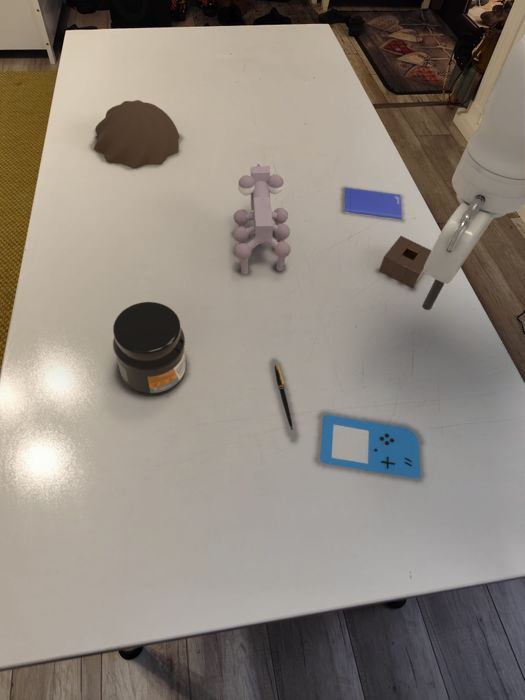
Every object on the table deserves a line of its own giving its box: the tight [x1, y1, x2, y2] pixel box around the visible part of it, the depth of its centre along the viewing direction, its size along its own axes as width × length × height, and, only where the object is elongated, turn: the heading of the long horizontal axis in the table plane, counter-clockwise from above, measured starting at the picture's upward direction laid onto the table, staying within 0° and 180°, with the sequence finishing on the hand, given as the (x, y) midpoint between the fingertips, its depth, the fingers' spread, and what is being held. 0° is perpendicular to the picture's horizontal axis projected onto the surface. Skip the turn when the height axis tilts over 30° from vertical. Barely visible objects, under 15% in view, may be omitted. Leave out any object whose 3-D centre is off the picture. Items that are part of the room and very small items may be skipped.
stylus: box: [421, 279, 446, 311], centre depth 73 cm, size 1×1×13 cm
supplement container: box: [112, 301, 187, 397], centre depth 79 cm, size 10×10×12 cm
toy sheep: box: [233, 163, 292, 275], centre depth 99 cm, size 20×11×14 cm, turn 3°
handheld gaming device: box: [319, 414, 421, 479], centre depth 79 cm, size 8×1×15 cm
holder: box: [378, 235, 432, 290], centre depth 101 cm, size 7×7×5 cm
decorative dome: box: [93, 99, 180, 170], centre depth 116 cm, size 19×20×10 cm
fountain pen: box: [274, 364, 294, 430], centre depth 82 cm, size 14×1×2 cm, turn 11°
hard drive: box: [343, 187, 403, 221], centre depth 113 cm, size 2×8×12 cm
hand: (449, 263), depth 71 cm, fingers closed on stylus, 1 cm apart
